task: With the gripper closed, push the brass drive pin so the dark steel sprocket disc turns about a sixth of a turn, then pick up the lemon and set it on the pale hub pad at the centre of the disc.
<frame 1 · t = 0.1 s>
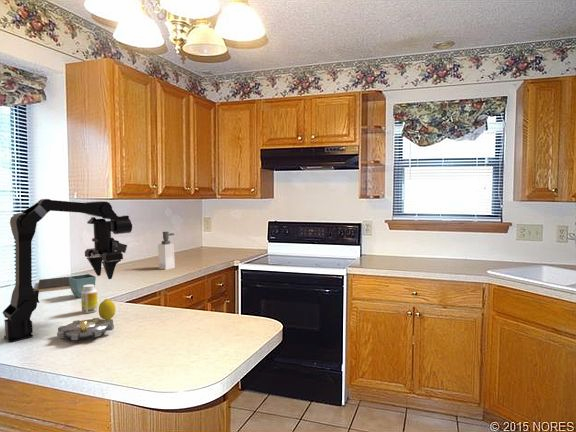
hand: (104, 277, 150), 15 cm above the worktop, tool pointing down, fingers open, 9 cm apart
soap dispenser: (168, 268, 245), on the worktop
supplement bottle: (89, 311, 158), on the worktop
flower pot: (83, 296, 181), on the worktop
sprocket: (86, 323, 131), point 4 cm above the worktop, hinge at 0.0°
lemon: (107, 321, 146), on the worktop
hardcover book: (57, 286, 203), on the worktop
pedestal: (86, 335, 132), on the worktop
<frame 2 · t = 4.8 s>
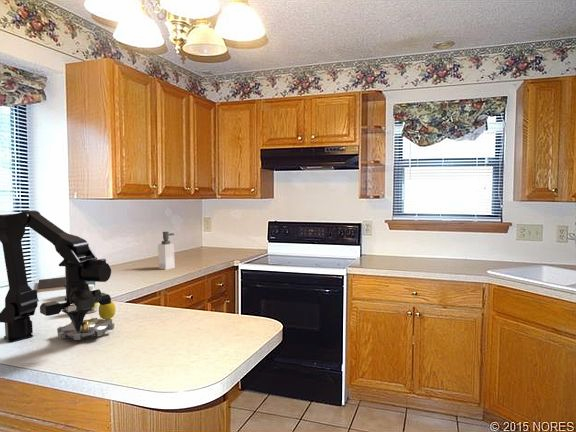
hand: (77, 331, 124), 4 cm above the worktop, tool pointing down, fingers closed
sprocket: (86, 323, 131), point 4 cm above the worktop, hinge at 5.0°, touching gripper
everything else where it was.
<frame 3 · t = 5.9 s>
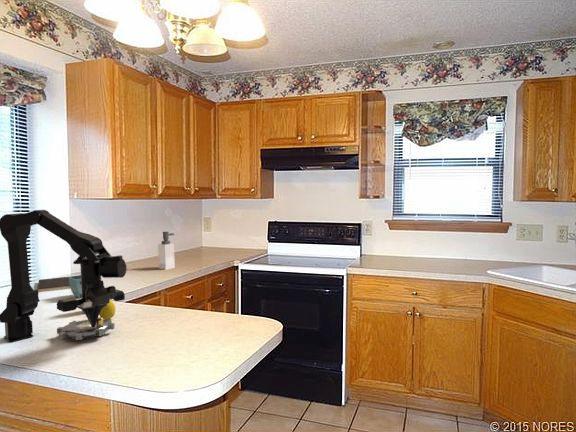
hand: (93, 327, 128), 4 cm above the worktop, tool pointing down, fingers closed
sprocket: (86, 323, 131), point 4 cm above the worktop, hinge at 53.7°, touching gripper
everything else where it was.
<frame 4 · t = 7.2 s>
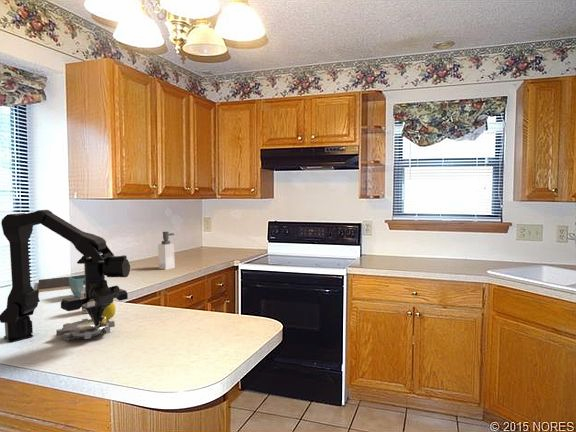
hand: (96, 325, 129), 4 cm above the worktop, tool pointing down, fingers closed
sprocket: (86, 323, 131), point 4 cm above the worktop, hinge at 70.3°, touching gripper
everything else where it was.
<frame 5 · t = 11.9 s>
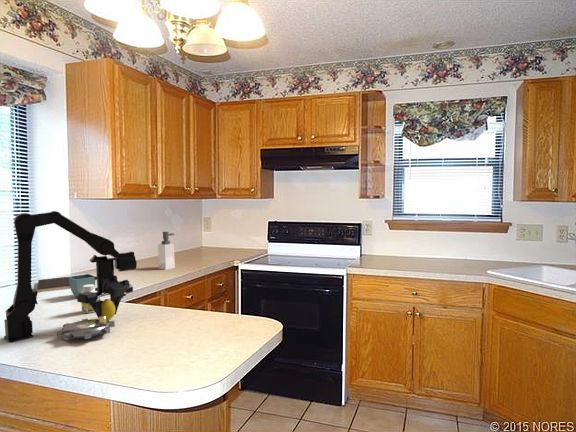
hand: (107, 316, 146), 2 cm above the worktop, tool pointing down, fingers closed on lemon, 5 cm apart
sprocket: (86, 323, 131), point 4 cm above the worktop, hinge at 70.4°
lemon: (107, 321, 146), on the worktop, touching gripper
everything else where it was.
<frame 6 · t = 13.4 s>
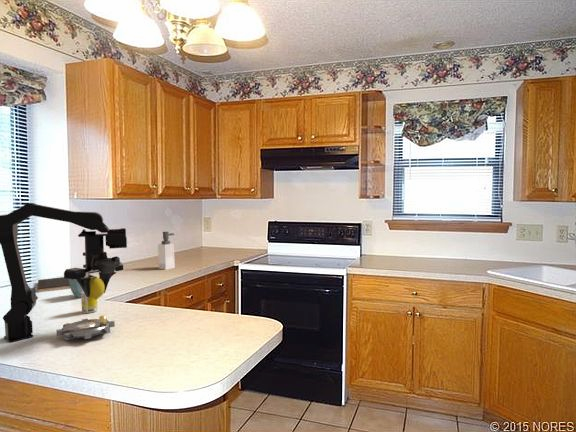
hand: (95, 294, 138), 11 cm above the worktop, tool pointing down, fingers closed on lemon, 5 cm apart
lemon: (96, 300, 138), point 9 cm above the worktop, touching gripper
everything else where it was.
when the fingers open (6 cm above the worktop, at t = 15.2 s): lemon drops 1 cm, resting on sprocket.
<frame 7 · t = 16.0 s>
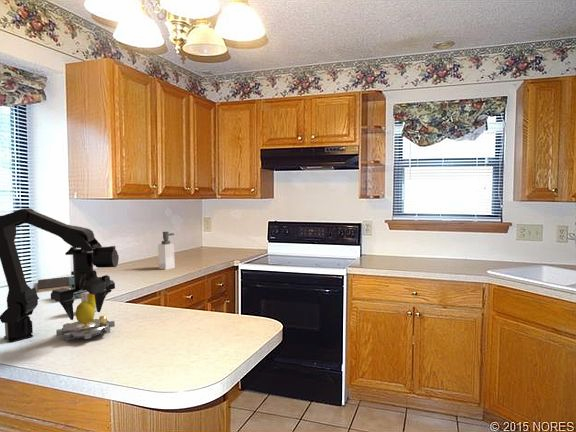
hand: (85, 315, 131), 6 cm above the worktop, tool pointing down, fingers open, 9 cm apart
sprocket: (86, 323, 131), point 4 cm above the worktop, hinge at 70.4°, touching lemon
lemon: (85, 325, 131), point 3 cm above the worktop, touching sprocket
everything else where it was.
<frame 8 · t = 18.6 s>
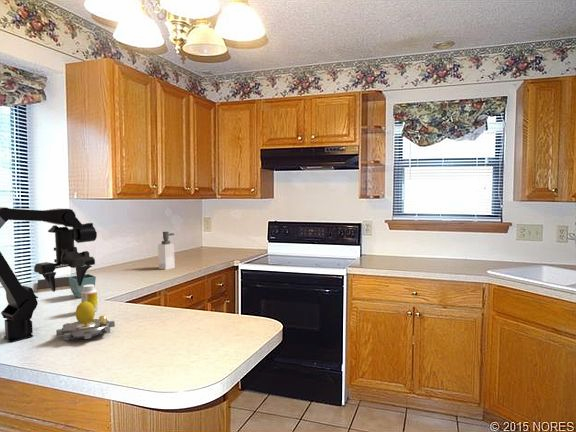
hand: (67, 288, 143), 12 cm above the worktop, tool pointing down, fingers open, 9 cm apart
nothing on the worktop moved.
at the end: sprocket at +70° (first picture: +0°); lemon 0.1 cm from the sprocket (horizontally); lemon point 3.1 cm above the worktop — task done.
